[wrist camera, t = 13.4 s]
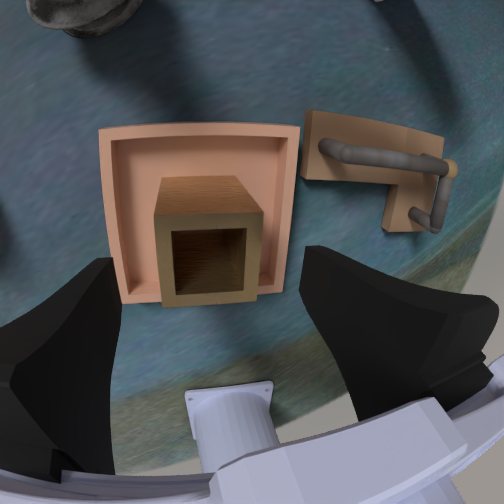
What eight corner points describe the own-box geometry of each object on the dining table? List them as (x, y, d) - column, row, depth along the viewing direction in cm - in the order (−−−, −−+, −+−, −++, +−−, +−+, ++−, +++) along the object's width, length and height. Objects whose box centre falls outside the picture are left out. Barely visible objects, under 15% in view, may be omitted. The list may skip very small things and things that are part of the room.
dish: (273, 277, 20) (282, 291, 19) (124, 287, 18) (120, 303, 17) (288, 124, 16) (300, 127, 14) (107, 127, 14) (98, 129, 12)
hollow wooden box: (232, 241, 18) (256, 300, 13) (164, 244, 17) (162, 307, 12) (234, 175, 16) (263, 212, 11) (161, 177, 15) (153, 216, 10)
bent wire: (417, 225, 22) (452, 249, 18) (293, 228, 19) (321, 260, 15) (435, 135, 18) (476, 147, 15) (305, 109, 16) (341, 113, 12)
